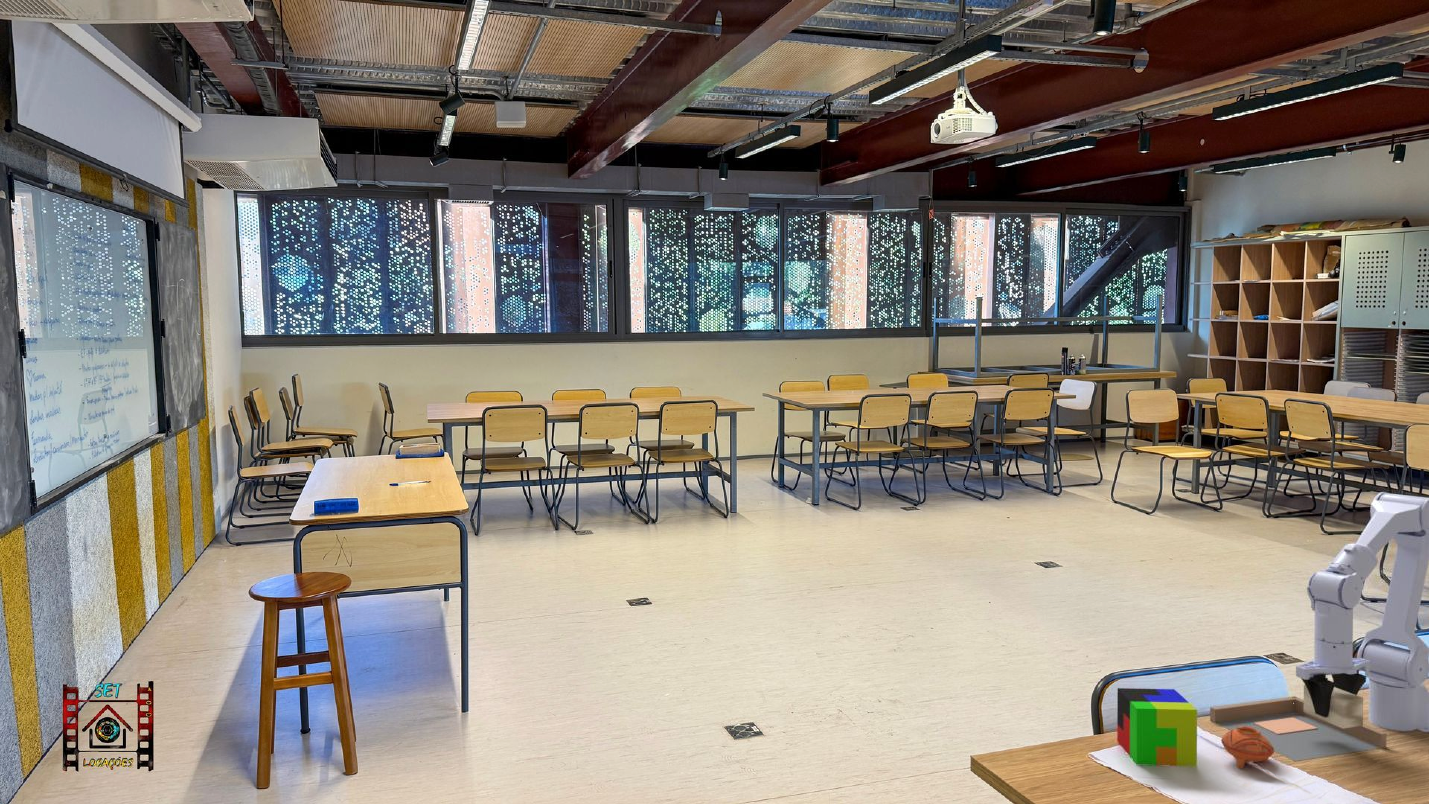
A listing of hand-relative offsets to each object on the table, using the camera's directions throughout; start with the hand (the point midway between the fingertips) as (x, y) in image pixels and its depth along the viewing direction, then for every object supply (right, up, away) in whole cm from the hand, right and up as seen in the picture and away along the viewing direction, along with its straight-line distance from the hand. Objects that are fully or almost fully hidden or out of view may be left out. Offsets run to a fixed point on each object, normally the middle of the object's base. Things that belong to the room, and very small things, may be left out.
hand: (1332, 713), depth 167 cm
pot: (-19, -7, -6) cm, 21 cm away
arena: (-4, -6, +4) cm, 8 cm away
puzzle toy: (-33, -7, -1) cm, 33 cm away
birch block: (0, -1, 0) cm, 1 cm away
